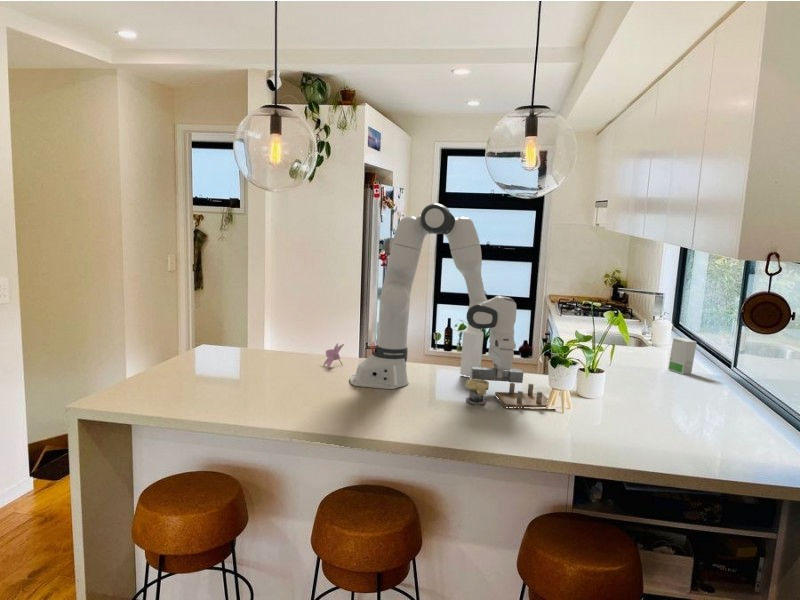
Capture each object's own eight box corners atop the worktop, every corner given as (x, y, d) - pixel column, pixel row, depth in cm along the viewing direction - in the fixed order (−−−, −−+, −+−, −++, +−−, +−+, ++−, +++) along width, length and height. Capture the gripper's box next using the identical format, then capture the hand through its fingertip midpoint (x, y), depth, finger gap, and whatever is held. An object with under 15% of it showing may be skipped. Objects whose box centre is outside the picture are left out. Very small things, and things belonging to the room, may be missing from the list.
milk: (471, 379, 230) (475, 326, 227) (459, 376, 234) (463, 323, 231) (480, 377, 234) (484, 325, 231) (468, 374, 239) (472, 322, 235)
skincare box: (667, 369, 268) (671, 337, 266) (677, 369, 271) (681, 337, 269) (682, 374, 261) (687, 341, 259) (692, 373, 264) (697, 340, 262)
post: (468, 405, 197) (469, 391, 197) (464, 398, 204) (465, 385, 204) (487, 405, 198) (489, 391, 197) (483, 399, 205) (484, 385, 204)
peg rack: (505, 408, 196) (506, 393, 195) (494, 395, 210) (496, 381, 209) (555, 409, 198) (557, 394, 197) (542, 397, 212) (543, 383, 211)
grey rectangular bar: (472, 380, 210) (473, 369, 209) (469, 376, 215) (470, 366, 214) (522, 382, 212) (523, 372, 211) (518, 379, 217) (519, 369, 216)
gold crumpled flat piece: (463, 383, 204) (464, 377, 204) (485, 384, 205) (485, 378, 204) (470, 394, 192) (471, 387, 192) (493, 394, 193) (494, 388, 193)
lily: (326, 363, 246) (318, 345, 241) (352, 354, 245) (344, 336, 241) (325, 379, 235) (317, 360, 231) (352, 370, 234) (344, 351, 230)
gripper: (486, 333, 221) (482, 367, 223) (500, 345, 201) (496, 382, 203) (502, 334, 222) (498, 368, 224) (517, 346, 202) (513, 383, 203)
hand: (497, 375), depth 213 cm, fingers closed on grey rectangular bar, 3 cm apart
